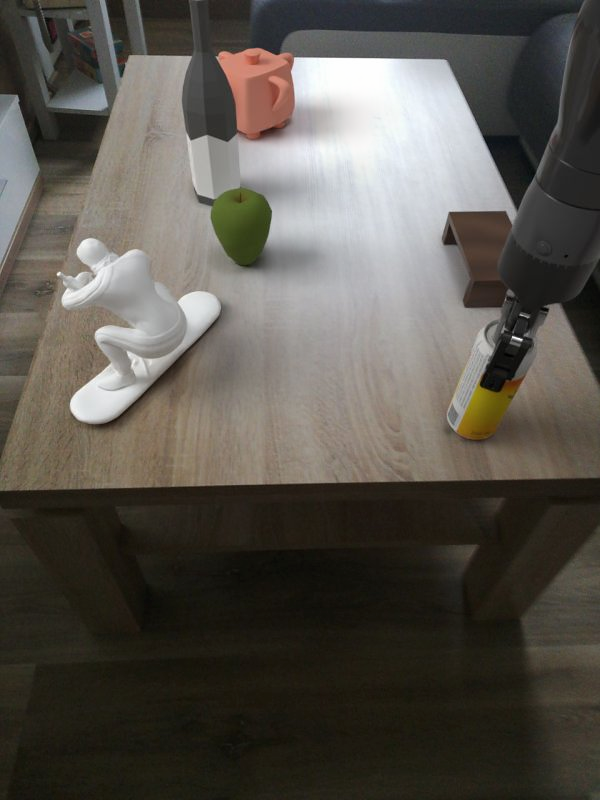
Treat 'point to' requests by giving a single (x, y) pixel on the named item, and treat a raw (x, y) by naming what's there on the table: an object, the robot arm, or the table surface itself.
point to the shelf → (480, 253)
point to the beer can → (479, 407)
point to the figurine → (145, 311)
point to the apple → (241, 223)
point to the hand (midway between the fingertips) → (496, 365)
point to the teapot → (260, 88)
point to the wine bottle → (209, 115)
